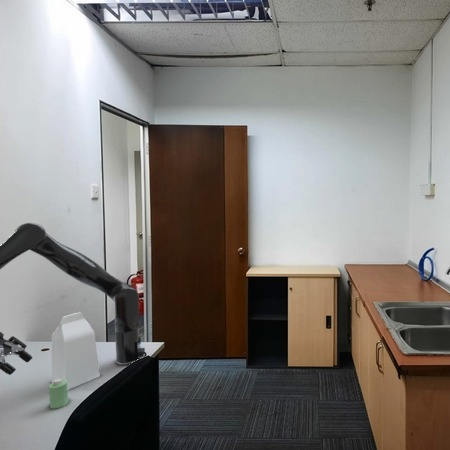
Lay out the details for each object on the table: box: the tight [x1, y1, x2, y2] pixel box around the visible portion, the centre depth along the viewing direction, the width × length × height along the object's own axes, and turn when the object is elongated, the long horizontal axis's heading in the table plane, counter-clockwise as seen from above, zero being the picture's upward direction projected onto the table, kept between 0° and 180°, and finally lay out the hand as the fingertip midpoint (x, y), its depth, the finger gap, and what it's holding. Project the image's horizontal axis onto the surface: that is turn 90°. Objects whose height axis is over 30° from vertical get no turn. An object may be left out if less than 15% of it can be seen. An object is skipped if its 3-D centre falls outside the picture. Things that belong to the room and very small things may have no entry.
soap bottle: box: [48, 378, 69, 409], centre depth 115 cm, size 5×5×8 cm
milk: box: [51, 311, 101, 391], centre depth 130 cm, size 12×12×26 cm
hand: (22, 366), depth 112 cm, fingers open, 8 cm apart
